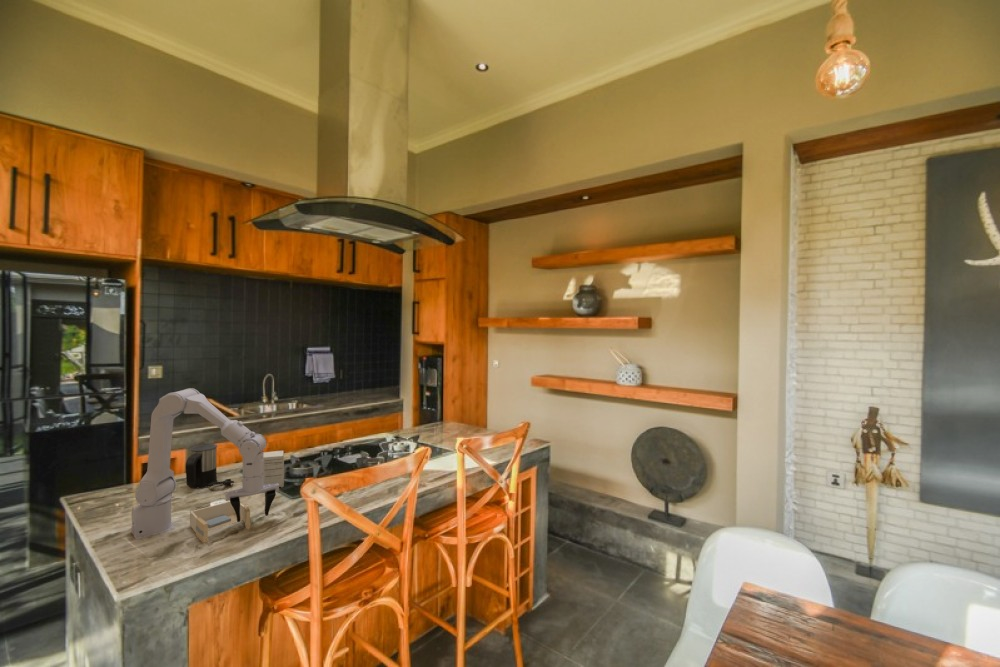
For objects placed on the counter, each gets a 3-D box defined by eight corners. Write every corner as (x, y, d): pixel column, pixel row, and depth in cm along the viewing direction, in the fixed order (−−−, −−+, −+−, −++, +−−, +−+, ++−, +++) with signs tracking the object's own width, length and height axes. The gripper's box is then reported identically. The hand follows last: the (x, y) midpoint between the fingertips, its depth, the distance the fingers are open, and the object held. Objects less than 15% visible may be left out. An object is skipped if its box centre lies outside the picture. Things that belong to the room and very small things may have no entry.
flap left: (195, 536, 131) (195, 518, 131) (199, 534, 132) (199, 516, 132) (203, 543, 127) (203, 524, 127) (207, 542, 128) (207, 523, 127)
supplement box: (263, 483, 174) (263, 452, 174) (284, 481, 177) (284, 450, 177) (262, 490, 168) (262, 457, 167) (283, 487, 171) (283, 455, 170)
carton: (197, 536, 132) (197, 519, 132) (190, 527, 137) (190, 511, 137) (245, 521, 141) (245, 506, 141) (236, 514, 147) (236, 499, 147)
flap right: (244, 521, 141) (244, 504, 141) (247, 520, 141) (248, 503, 141) (246, 529, 135) (246, 512, 135) (250, 528, 136) (250, 511, 136)
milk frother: (193, 481, 175) (192, 444, 175) (238, 477, 181) (238, 441, 180) (182, 495, 162) (182, 455, 161) (232, 489, 168) (232, 451, 167)
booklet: (210, 528, 136) (210, 525, 136) (203, 524, 138) (203, 521, 138) (231, 520, 141) (231, 518, 141) (224, 517, 143) (224, 514, 143)
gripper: (276, 467, 145) (276, 507, 145) (224, 475, 136) (224, 518, 137) (280, 473, 139) (280, 515, 140) (226, 482, 131) (226, 527, 131)
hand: (252, 517), depth 138 cm, fingers open, 7 cm apart
